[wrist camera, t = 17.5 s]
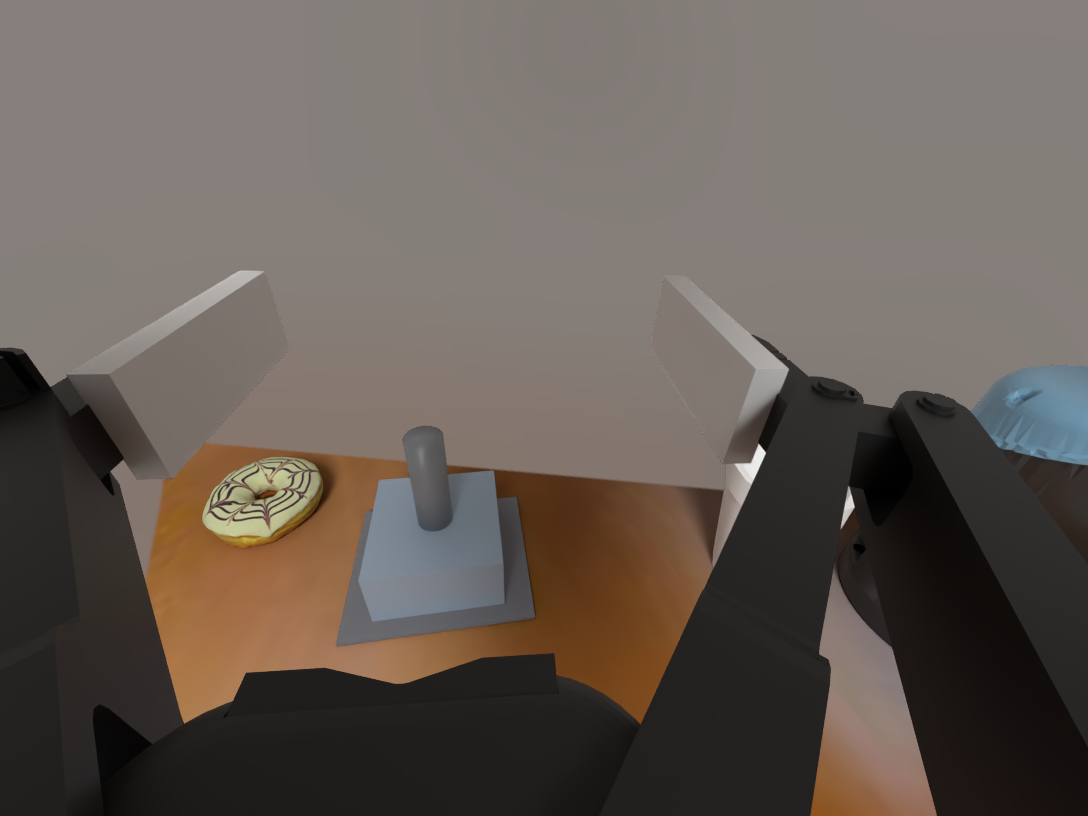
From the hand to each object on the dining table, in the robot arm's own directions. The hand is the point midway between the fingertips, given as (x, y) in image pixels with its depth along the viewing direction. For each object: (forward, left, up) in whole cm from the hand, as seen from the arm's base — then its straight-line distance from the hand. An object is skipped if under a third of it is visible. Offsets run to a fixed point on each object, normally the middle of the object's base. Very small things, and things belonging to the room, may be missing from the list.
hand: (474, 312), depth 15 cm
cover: (+4, -13, -30) cm, 33 cm away
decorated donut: (+22, -22, -30) cm, 44 cm away
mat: (+4, -13, -30) cm, 33 cm away
